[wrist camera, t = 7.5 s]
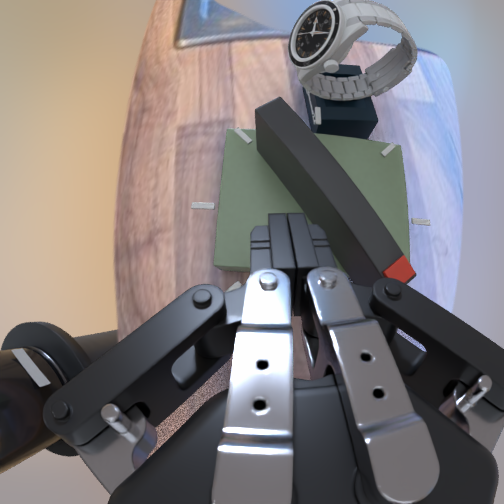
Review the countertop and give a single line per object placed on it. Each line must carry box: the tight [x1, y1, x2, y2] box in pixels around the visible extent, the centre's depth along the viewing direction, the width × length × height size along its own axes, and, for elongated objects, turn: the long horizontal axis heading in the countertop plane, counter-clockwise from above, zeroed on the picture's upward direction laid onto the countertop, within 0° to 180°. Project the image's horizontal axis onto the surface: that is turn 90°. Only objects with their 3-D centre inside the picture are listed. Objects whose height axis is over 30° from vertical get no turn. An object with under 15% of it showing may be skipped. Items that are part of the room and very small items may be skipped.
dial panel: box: [191, 107, 430, 292], centre depth 19 cm, size 15×15×3 cm
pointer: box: [255, 97, 416, 287], centre depth 15 cm, size 11×2×5 cm, turn 34°
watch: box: [288, 0, 417, 140], centre depth 16 cm, size 6×8×11 cm
